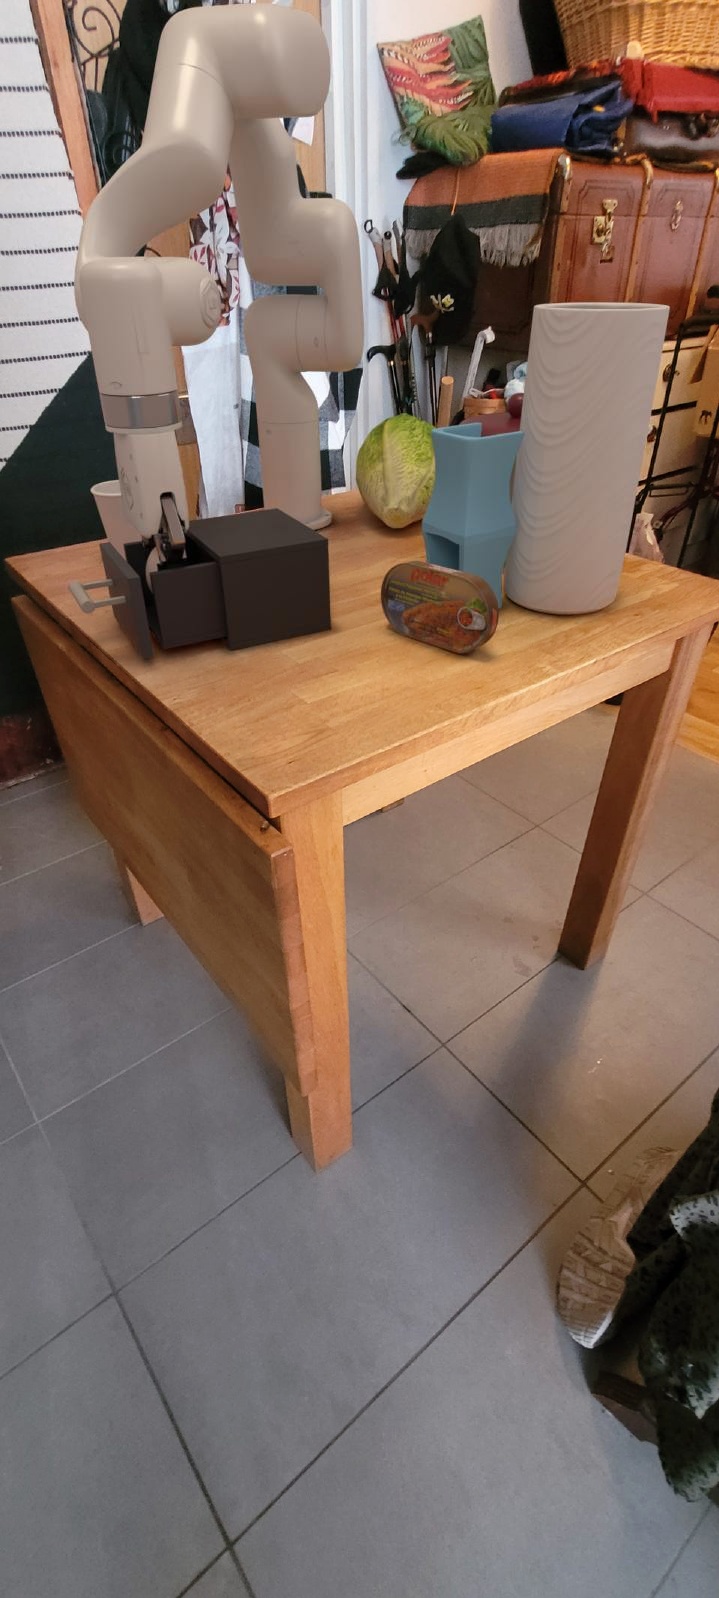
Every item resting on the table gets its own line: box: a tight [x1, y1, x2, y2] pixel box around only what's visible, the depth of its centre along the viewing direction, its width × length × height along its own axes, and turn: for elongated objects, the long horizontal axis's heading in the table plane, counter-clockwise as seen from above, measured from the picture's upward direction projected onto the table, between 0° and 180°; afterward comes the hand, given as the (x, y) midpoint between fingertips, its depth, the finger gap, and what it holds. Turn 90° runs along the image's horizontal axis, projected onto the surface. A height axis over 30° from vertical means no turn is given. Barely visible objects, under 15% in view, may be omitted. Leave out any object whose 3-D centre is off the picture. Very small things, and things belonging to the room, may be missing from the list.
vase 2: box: [503, 301, 671, 616], centre depth 89 cm, size 14×14×32 cm
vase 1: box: [421, 422, 525, 609], centre depth 91 cm, size 8×8×20 cm
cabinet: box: [183, 508, 332, 651], centre depth 90 cm, size 13×15×11 cm
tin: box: [380, 560, 500, 654], centre depth 85 cm, size 15×3×8 cm, turn 47°
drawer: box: [68, 534, 227, 660], centre depth 86 cm, size 16×13×9 cm
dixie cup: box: [90, 479, 142, 560], centre depth 110 cm, size 8×8×10 cm
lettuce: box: [355, 412, 437, 529], centre depth 126 cm, size 15×24×16 cm
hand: (169, 588), depth 87 cm, fingers closed on egg, 4 cm apart
